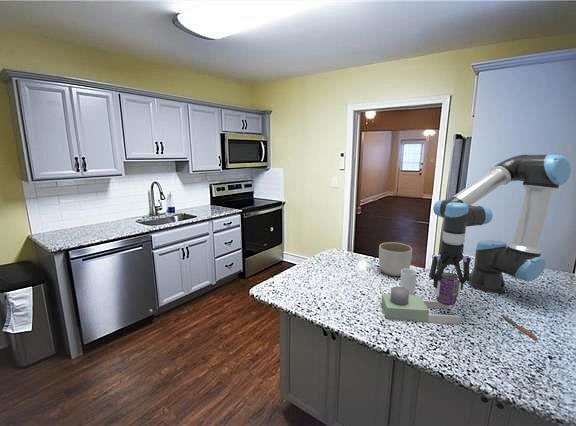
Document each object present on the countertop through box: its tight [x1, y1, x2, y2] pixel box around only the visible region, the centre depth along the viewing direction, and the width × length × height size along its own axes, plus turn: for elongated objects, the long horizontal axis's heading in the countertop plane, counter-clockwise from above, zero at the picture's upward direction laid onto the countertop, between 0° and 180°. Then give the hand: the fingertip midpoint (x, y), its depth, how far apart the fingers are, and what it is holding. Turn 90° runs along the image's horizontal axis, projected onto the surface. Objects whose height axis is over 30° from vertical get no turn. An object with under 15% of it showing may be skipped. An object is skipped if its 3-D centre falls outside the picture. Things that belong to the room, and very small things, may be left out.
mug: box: [399, 268, 418, 295], centre depth 136 cm, size 10×7×12 cm, turn 172°
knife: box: [501, 314, 538, 342], centre depth 110 cm, size 17×1×3 cm
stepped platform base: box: [381, 285, 462, 325], centre depth 120 cm, size 28×12×10 cm, turn 81°
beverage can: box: [435, 271, 459, 306], centre depth 117 cm, size 7×7×12 cm
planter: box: [378, 241, 413, 277], centre depth 159 cm, size 17×17×15 cm
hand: (446, 295), depth 117 cm, fingers closed on beverage can, 7 cm apart
